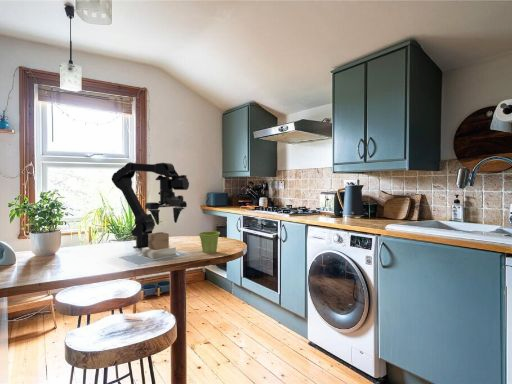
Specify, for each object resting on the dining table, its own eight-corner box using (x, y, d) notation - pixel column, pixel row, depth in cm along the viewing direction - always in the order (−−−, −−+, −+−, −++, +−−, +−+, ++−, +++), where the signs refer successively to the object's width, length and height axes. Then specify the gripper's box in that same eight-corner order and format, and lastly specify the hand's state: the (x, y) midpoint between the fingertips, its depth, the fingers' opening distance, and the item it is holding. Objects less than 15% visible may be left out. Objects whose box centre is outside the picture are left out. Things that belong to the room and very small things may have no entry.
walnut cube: (148, 248, 130) (148, 233, 130) (161, 245, 134) (161, 232, 134) (155, 250, 126) (155, 235, 126) (168, 247, 130) (168, 233, 130)
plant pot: (206, 256, 131) (205, 235, 131) (194, 252, 138) (194, 232, 138) (224, 252, 137) (224, 233, 137) (212, 249, 144) (212, 230, 144)
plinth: (141, 255, 130) (141, 248, 130) (163, 251, 137) (163, 244, 137) (153, 259, 123) (153, 251, 123) (175, 254, 131) (175, 247, 130)
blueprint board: (119, 258, 127) (118, 257, 126) (166, 250, 143) (166, 248, 143) (138, 266, 115) (138, 264, 115) (188, 255, 131) (188, 254, 131)
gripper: (157, 190, 131) (157, 227, 132) (193, 189, 145) (193, 223, 145) (144, 190, 139) (144, 225, 139) (179, 189, 153) (180, 221, 153)
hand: (166, 223), depth 144 cm, fingers open, 9 cm apart
